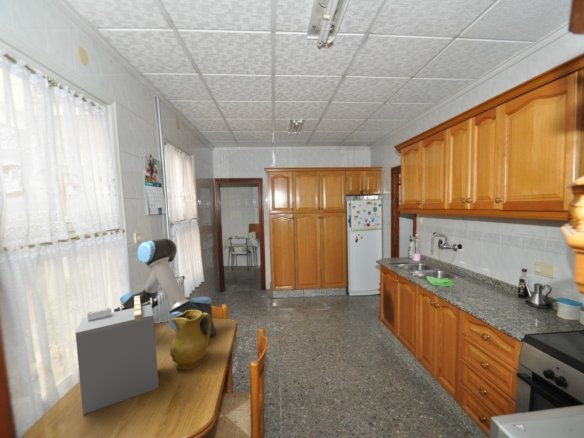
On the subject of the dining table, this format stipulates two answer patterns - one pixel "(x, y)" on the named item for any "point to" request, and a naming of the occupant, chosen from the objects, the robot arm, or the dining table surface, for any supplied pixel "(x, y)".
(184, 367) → the pitcher
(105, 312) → the ridge
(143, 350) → the stand
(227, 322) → the dining table surface
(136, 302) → the rod
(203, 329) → the robot arm
